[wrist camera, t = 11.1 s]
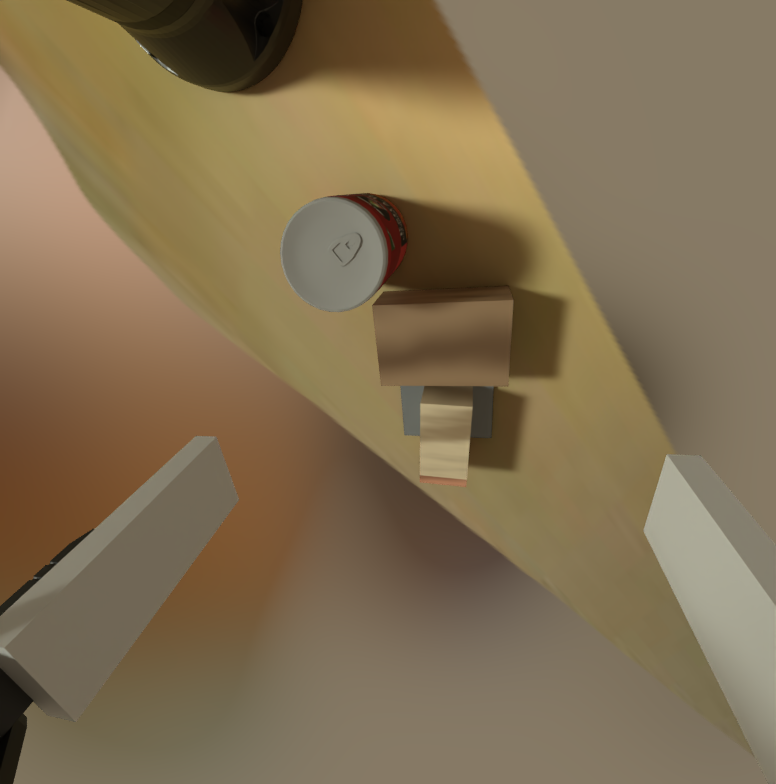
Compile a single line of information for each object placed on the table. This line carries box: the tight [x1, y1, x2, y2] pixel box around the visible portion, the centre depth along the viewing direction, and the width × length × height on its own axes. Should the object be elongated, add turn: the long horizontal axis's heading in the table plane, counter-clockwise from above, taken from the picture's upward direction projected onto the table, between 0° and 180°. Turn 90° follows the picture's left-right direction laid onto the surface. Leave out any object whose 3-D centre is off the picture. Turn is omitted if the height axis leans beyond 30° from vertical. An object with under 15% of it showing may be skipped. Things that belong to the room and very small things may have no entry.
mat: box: [401, 386, 494, 438], centre depth 43 cm, size 8×10×1 cm
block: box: [420, 386, 473, 487], centre depth 41 cm, size 5×5×10 cm
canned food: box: [280, 193, 408, 312], centre depth 32 cm, size 8×8×11 cm
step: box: [372, 286, 514, 386], centre depth 37 cm, size 8×12×5 cm, turn 95°
